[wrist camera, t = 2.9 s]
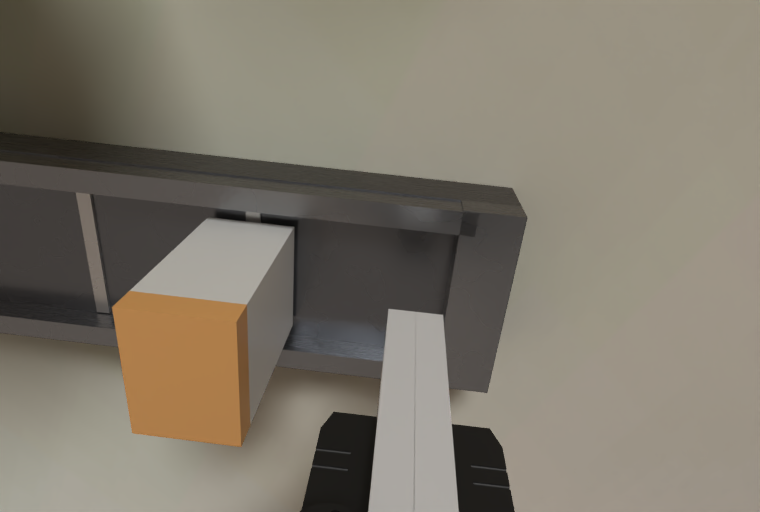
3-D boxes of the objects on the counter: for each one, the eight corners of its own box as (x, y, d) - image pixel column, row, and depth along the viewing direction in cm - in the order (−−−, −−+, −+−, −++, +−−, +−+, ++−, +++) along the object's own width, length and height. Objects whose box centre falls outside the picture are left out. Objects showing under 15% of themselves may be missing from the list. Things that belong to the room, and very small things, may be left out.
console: (479, 345, 22) (498, 455, 16) (-155, 270, 22) (-337, 351, 17) (512, 188, 19) (548, 258, 13) (-221, 108, 19) (-469, 144, 14)
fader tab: (292, 325, 19) (241, 446, 14) (214, 315, 19) (132, 433, 14) (294, 226, 17) (236, 321, 12) (208, 217, 17) (112, 307, 12)
